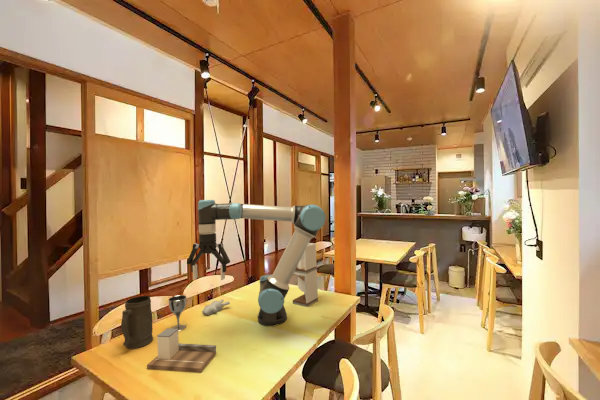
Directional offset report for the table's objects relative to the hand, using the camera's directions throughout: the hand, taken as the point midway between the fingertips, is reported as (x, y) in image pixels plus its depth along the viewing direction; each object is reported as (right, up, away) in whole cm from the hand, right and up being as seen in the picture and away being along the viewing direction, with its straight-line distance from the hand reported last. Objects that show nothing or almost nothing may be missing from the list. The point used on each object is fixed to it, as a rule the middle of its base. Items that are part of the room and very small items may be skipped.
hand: (209, 279), depth 124 cm
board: (-4, -27, -19) cm, 33 cm away
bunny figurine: (-6, -28, +30) cm, 41 cm away
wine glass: (-19, -28, +10) cm, 35 cm away
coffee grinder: (+45, -26, +39) cm, 65 cm away
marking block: (-11, -26, -16) cm, 32 cm away
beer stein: (-30, -28, -5) cm, 42 cm away
